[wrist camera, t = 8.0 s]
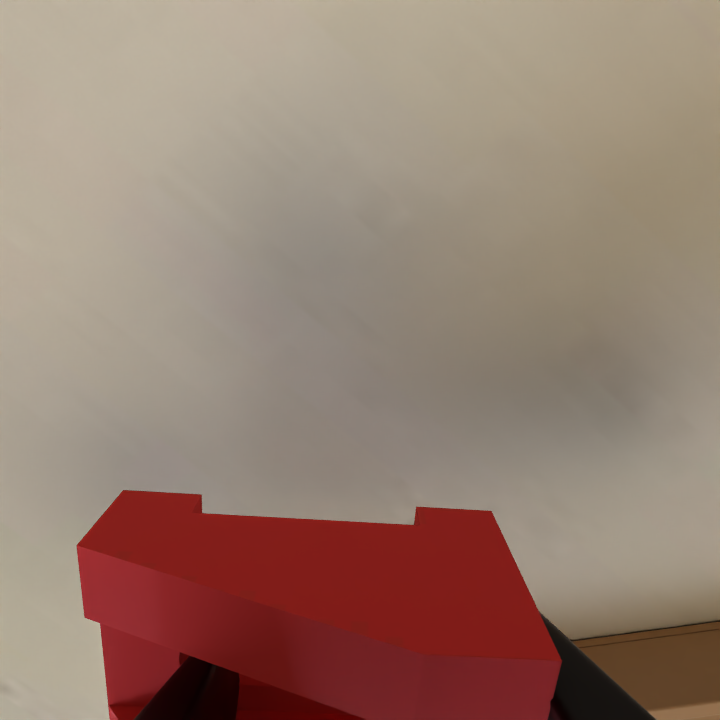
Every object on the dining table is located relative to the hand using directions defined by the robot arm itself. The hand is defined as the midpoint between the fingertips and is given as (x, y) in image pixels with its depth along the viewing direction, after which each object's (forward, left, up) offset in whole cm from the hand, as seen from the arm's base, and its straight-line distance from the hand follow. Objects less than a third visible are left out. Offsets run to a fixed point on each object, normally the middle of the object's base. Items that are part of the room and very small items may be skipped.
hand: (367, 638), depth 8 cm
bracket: (+1, 0, -1) cm, 2 cm away
